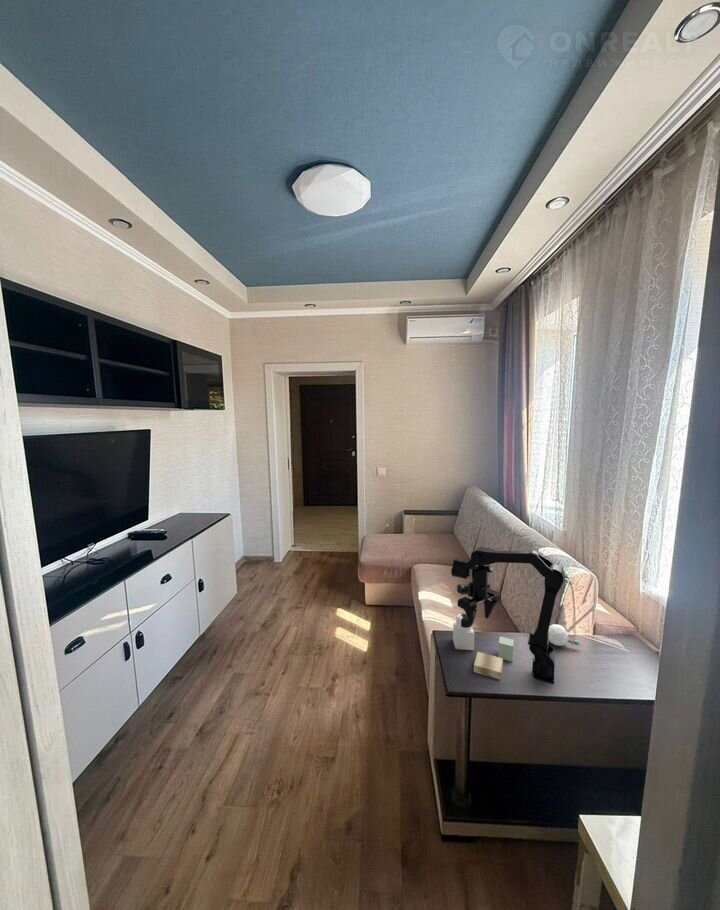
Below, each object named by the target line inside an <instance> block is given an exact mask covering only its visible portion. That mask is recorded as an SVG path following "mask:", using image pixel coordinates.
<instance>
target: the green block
mask: <svg viewBox="0 0 720 910" xmlns="http://www.w3.org/2000/svg"><path fill="white" fill-rule="evenodd" d="M514 641H515V639H512V638H508V637H505V636H499V640H498V652H497V653H498V654H497V657H499V658H503V661H508V662H513V657H514V644H515V643H514Z"/></svg>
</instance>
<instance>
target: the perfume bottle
mask: <svg viewBox="0 0 720 910" xmlns="http://www.w3.org/2000/svg"><path fill="white" fill-rule="evenodd" d="M549 643H550V644H553V645H554V646H556V647H557V646H559V647H563V646H564V645H566V644H567V643H569V644H572V645H574V646H580V641H579V640H577V639H576V640H574V639H570V638H569V632H568V631H567V630H566V628H565V627H564V626H563V625H561V624H555V623H553V624H551V625H550V626H549Z"/></svg>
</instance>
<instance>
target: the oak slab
mask: <svg viewBox="0 0 720 910" xmlns="http://www.w3.org/2000/svg"><path fill="white" fill-rule="evenodd" d="M503 666H504V659H503V658H499V657H498V656H495V655H491V654H488V653H484V652H481V651H477V653H476V657H475V660H474V663H473V673H476V674H480V675H483V676H487V677H490V678H493V679H497V680H501V679H502V673H503Z"/></svg>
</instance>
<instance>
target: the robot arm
mask: <svg viewBox="0 0 720 910" xmlns="http://www.w3.org/2000/svg"><path fill="white" fill-rule="evenodd" d="M452 562H453V563H452V566H451V569H450V571H451V572H450V573H451V577H454V578H460V579H464V580H467V579H469V578H470V577H471V582H469V583H464V584H463V583H461V584H459V583H458V584H457V585H456V586H457V587H456V591H457V593H458V594H460V595H461V596H462V595H467V596H468V597H466V596H463V597H461V598H459V599H458V600H457V607H459V608H461V609H462V610H463V611H464V612H465V614H466V615H467V617H468V620H469V623H470V625H472V626H473V625H474V622H475V619H476V615H477V611H478V610H477V607H478V605H477V604H480V603H482V602H483V604H484V605H483V607H484V608H483V609H484V617H485V619H487V620H488V619H489V617H490V616H491V614H492V612H493V610H494V609H495V607H496V606H497V604H498V603H499V601H501V597H502V596H501V593H500V592H499V591H496V590H494V589H492V588H491V584H489V583H488V581H489V579H488V578H489V574H490V573H493V571H494V568H493V567H492V566H491V565H492V564H497V563H499V564H503V563H504V564H531V566H532V567H534V568H535V569H536V571H537V572H538V573H539V574H540V575H541V576H542V577H544V594H543V599H542V604H541V608H540V613H539V618H538V622H537V624H536V627H534V626H531V628H530V632H529V636H528V640H527V645H529V646H528V647H529V651H530V653H531V654H532V655H533V656H534V657H533V658H532V663H531V664H532V669H531V671H532V672H531V673H532V674H533V678H534V679H536V680H540V681H544V682H547V683H551V684H555V670H556V669H555V666H556V660H555V653H556V649H554V647H553V646H552V645H551V643H550V640H549V626H551V625H550V624H551V621H552V620H551V619H552V616H553V612H554V607H555V603H556V598H557V595H558V593H559V592H560V590H561V588H562V586H563V584H564V582H565V580H564V579H565V570H564V569H563V567H562V566H561V565H559V564H556V563H554V562H552V561H551V560H550V559H548V558H546V557H545V556H543V555H542V554H540V553H539V552H538V551H537V550H532V549H531V550H497V549H493V548H491V547H490V548H489V547H484V546H479V547H476V548H474V550H473V552H472V553H471V555H470V558H469V559H468V560H462V559H458V558H454V559H453V561H452Z"/></svg>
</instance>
